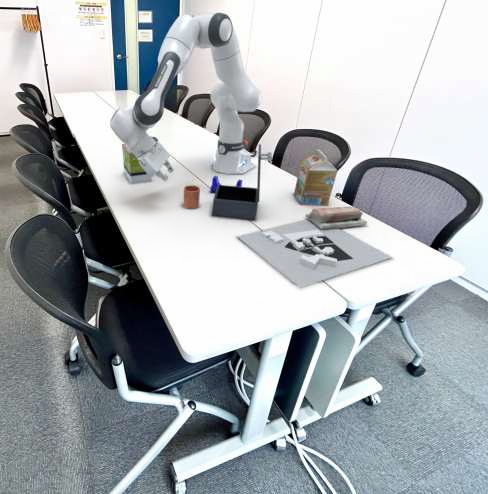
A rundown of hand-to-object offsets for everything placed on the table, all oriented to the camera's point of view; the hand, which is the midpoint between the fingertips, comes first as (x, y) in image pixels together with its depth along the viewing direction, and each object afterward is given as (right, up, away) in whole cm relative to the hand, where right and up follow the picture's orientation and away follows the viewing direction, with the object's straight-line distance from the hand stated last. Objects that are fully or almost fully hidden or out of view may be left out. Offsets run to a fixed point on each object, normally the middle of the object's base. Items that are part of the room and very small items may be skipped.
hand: (169, 175), depth 128 cm
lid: (+31, -1, -9) cm, 33 cm away
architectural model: (+44, -28, -23) cm, 57 cm away
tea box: (-15, +6, +31) cm, 35 cm away
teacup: (+9, -11, +4) cm, 15 cm away
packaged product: (+59, -19, -9) cm, 62 cm away
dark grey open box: (+25, -13, 0) cm, 28 cm away
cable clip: (+24, -5, +14) cm, 29 cm away
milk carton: (+58, -8, +8) cm, 59 cm away
